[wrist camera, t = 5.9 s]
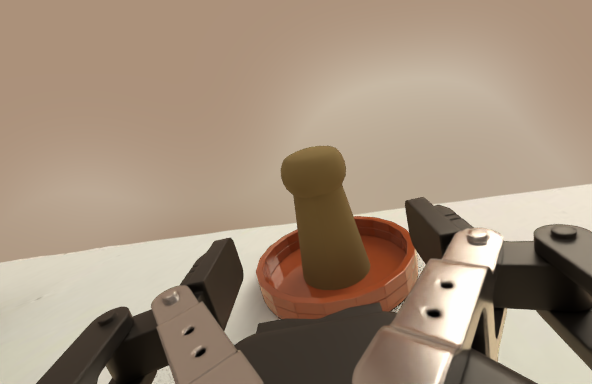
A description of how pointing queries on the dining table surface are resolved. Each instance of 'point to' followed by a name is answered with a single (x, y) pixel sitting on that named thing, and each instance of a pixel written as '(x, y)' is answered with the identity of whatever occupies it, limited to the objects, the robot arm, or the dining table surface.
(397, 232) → the dish
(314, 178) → the brown game pawn
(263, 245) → the dining table surface
